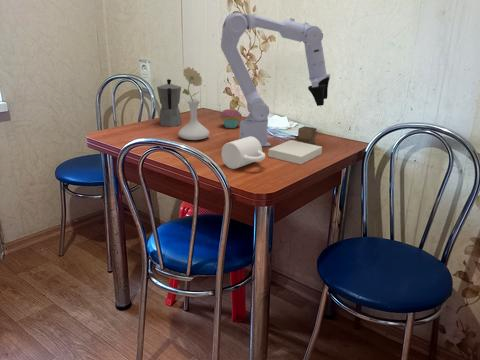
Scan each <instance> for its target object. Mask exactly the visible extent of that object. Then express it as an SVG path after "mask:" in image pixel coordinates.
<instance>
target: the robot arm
mask: <svg viewBox="0 0 480 360" xmlns="http://www.w3.org/2000/svg"><path fill="white" fill-rule="evenodd" d="M221 28H222V30H221V31H222V32H221V38H220V48H221V51H222V52H223V55H224V57H225V60H227V63H228V66H229V67H230V70H231V72H232V73H233V75H234V78H235V80H236V82H237V84H238V85H239V88H240V90H241V93H242V94H243V96H244V99H245V101H246V103H247V104H246V105H247V106H246V107H247V111H248V112H249V114H248V115H247V116H246V119H242V120H241V119H240V122H239V133H238V134H239V135H238V136H239V137H238V138H239V139H242V138H246V137H249V136H252V137H255V138H256V139H257V140H258V141H259V142H260V144H261V146H262V147H270V146H271V143H270V142H268V125H269V117H268V116H269V114H270V108H269V106H268V105H267V103H266V102H265V101H264V100H263V99H262V97H261V95H260V94H259V92H258V90H257V88H256V86H255V84H254V82H253V80H252V78H251V75H250V73H249V71H248V69H247V67H246V65H245V62H244V60H243V58H242V56H241V54H240V52H239V50H238V48H237V46H238V44H239V42H240V38H241V37H242V36H243V35H244V33H245V32H246V30H253V29H255V28H259V29H263V30H268V31H269V30H270V31H273V32H278V33H279V34H280V36H281V37H282V38H283V39H287V40H291V41H295V42H298V43H301V42H303V43H304V49H305V57H306V64H307V71H308V79H309V81H310V84H311V85H308V87H307V89H308V91H309V92H310V93H311V95H312V97H313V99H314V103H315V104H316V106H317V107H319V106H324V104H325V100H328V95H329V94H328V91H329V90H328V88H329V83H330V78H331V73H327V69H326V68H327V67H326V61H325V54H324V49H323V43H322V41H323V38H324V33H323V32H322V29H321V28H320V27H318V26H315V25H311V24H309V22H304V23H303V22H299V21H297V20H296V19H295V18H290V19H288V18H287V19H286V18H285V20H283V21H282V22H281V21H277V20H276V19H275V20H274V19H271V18H268V17H264V16H261V15H257V14H251V13H250V14H247V13H240V12H231V13H229V14H228V15H227V16H226V18H225V20H224V22H223V24H222V27H221ZM239 139H238V140H239Z"/></svg>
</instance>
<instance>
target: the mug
mask: <svg viewBox="0 0 480 360" xmlns="http://www.w3.org/2000/svg"><path fill="white" fill-rule="evenodd" d="M220 155H221V160H222V162H223V163H224V165H225V166H226V167H227V168H229V169H232V170H237V169H239V168H241V167H244V166H247V165H249V164H252V163H255V162H257V163H258V162H262V161H263V160H265V159H266V153H265V152H263V146H261V144H260V142H259V141H258V140H257V139H256V138H255V137H252V136H249V137H246V138H242V139H235V140H232V141H230V142H226V143H224V145H223V146H222V147H221V154H220Z"/></svg>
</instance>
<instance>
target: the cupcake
mask: <svg viewBox="0 0 480 360" xmlns="http://www.w3.org/2000/svg"><path fill="white" fill-rule="evenodd" d="M236 100H237V99H233V103H232V109H231V108H229V109H224V110H223V111H221V112H220V114H219V118H220V119H221V120H222V122H223V125H224V128H226V129H227V128H228V129H235V128H237V126H238V123H239V121H240V120H241V119H242V114H241V112H240V111H239V110H237V109H235V106H236Z"/></svg>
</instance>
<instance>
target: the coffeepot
mask: <svg viewBox="0 0 480 360" xmlns="http://www.w3.org/2000/svg"><path fill="white" fill-rule="evenodd" d="M171 82H172V79H170V78H168V79H166V83H165V84H160V85H159V86H156V88H157V89H156V90H157V93H158V98H159V103H160V105H161V108H160V112H159V119H158V120H159V121H158V124H159V126H161V127H166V128H167V127H169V128H170V127H172V128H173V127H178V126H181V125H182V124H183V122H182V121H183V120H182V116H181V112H180V108H179V104H180V99H181V94H182V93H181V92H182V87H181V86H179V85H177V84H174V83H171Z"/></svg>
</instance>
